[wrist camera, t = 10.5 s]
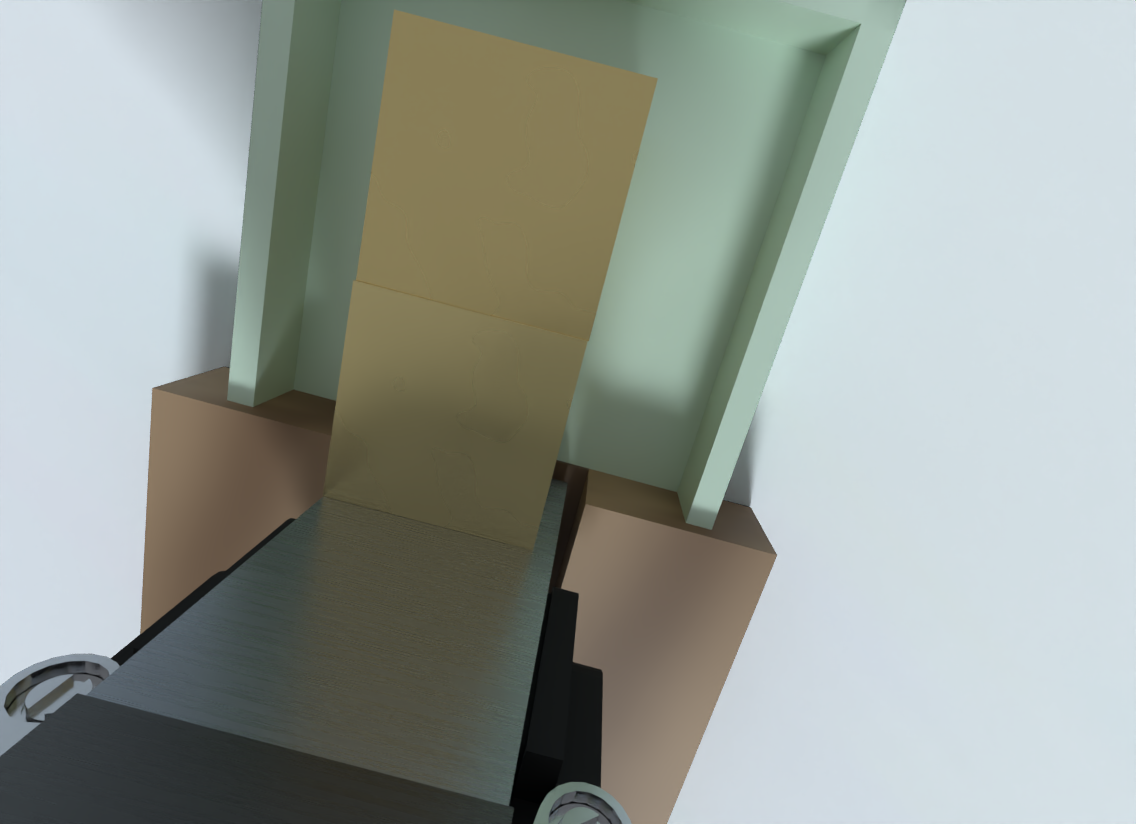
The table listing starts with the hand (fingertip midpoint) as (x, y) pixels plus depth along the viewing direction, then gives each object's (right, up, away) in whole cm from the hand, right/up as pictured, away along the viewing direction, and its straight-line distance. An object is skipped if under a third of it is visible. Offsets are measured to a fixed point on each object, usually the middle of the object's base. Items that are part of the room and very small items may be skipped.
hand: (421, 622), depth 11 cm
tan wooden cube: (+2, +9, +1) cm, 9 cm away
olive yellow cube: (+1, +5, +2) cm, 6 cm away
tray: (+2, +8, +2) cm, 9 cm away
